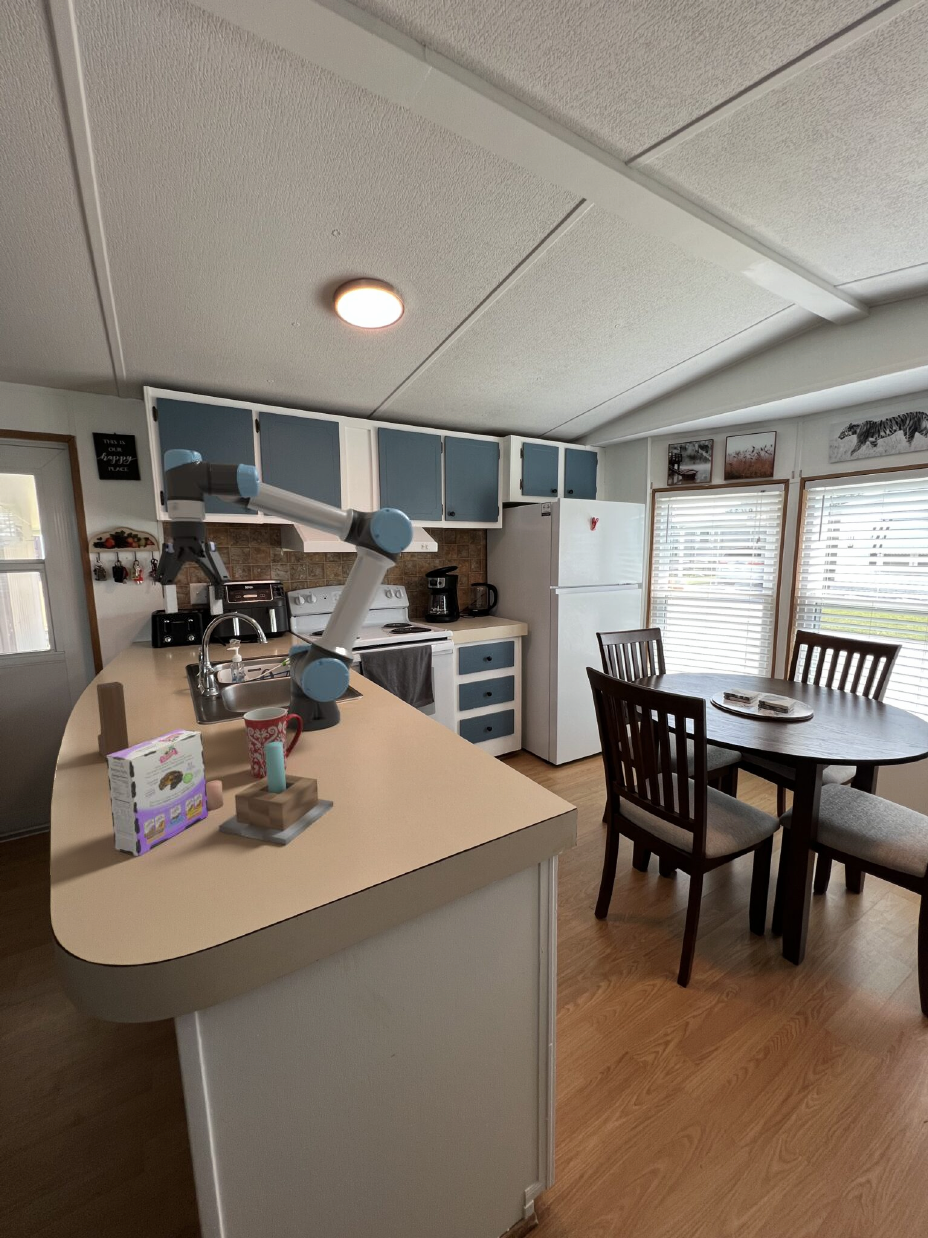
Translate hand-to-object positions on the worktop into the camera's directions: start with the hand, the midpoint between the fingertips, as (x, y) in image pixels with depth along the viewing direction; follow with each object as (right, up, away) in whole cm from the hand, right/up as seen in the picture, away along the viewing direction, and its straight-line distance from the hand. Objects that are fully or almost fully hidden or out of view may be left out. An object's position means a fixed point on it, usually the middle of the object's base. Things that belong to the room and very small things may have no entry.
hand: (194, 613), depth 119 cm
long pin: (+29, -38, -25) cm, 54 cm away
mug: (+21, -36, -4) cm, 41 cm away
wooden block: (-23, -35, +6) cm, 42 cm away
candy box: (+11, -39, -30) cm, 50 cm away
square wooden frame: (+29, -38, -25) cm, 54 cm away
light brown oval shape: (+15, -37, -21) cm, 45 cm away
